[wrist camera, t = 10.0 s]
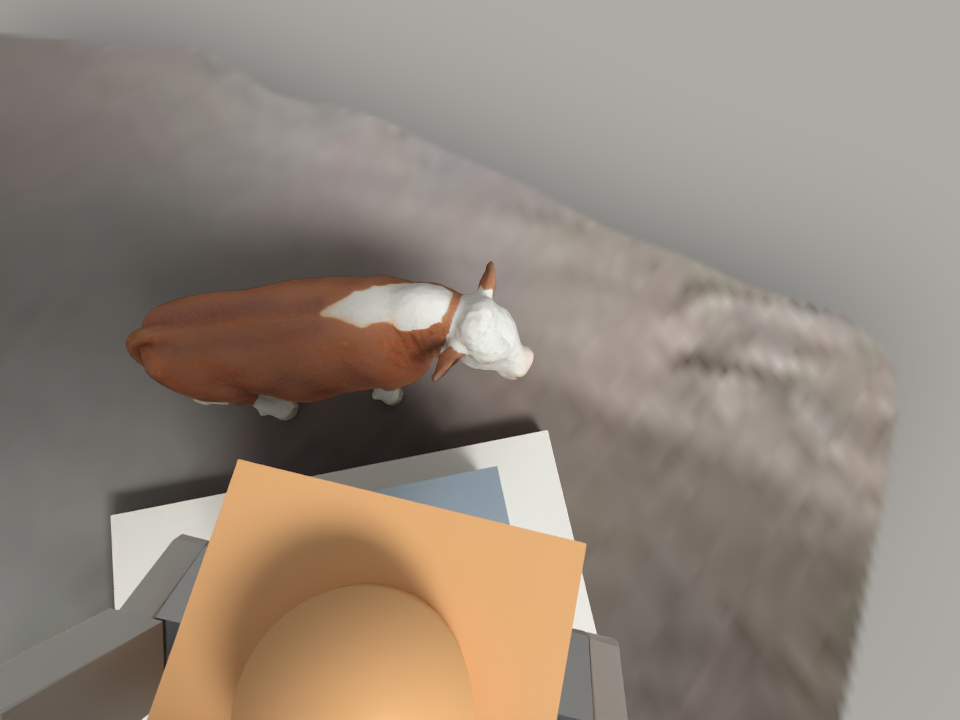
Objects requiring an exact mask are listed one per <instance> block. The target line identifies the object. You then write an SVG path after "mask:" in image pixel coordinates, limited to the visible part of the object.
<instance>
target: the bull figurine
mask: <svg viewBox="0 0 960 720" xmlns="http://www.w3.org/2000/svg"><path fill="white" fill-rule="evenodd" d="M495 288H496V276H495V268H494V264H493V262H492V261H491V262H489V263H488V264H487V266H486V270H485V273H484V274H483V276H482V278H481V280H480V283H479V287H478V290H477V291H476V292H475V293H473V294H469V295H463V294H460V293H458V292H456V291H454V290H453V289H450V288H448V287H445V286H443V285H441V284H437V283H431V282H413V281H408V280H403V279H398V278H395V277H391V276H366V277H357V278H354V277H321V278H309V279H297V280H288V281H282V282H278V283H273V284H269V285H264V286H260V287H255V288H251V289H246V290H240V291H223V292H212V293H205V294H198V295H192V296H188V297H183V298H179V299H176V300H173V301H170V302H167V303H164V304H162V305H159V306H157V307H155V308H154V309H152V310H151V311H150V312H149V313H148V315H147V316H146V318H145V319H144V321H143V323H142V328H140V329H138V330H136V331H134V332H133V333H131V334H130V335H129V337H128V338H127V340H126V347H127V350H128V352H129V353H130V355H131V357H133V358H134V359H135V360H136V361H137V362H138V363H139V364H141V365H142V366H143V367H144V368H145V370H146V373H147V374H148V375H149V376H150V377H151V378H152V379H154V380H155V381H157V382H158V383H160V384H161V385H163V386H165V387H167V388H169V389H171V390H173V391H175V392H177V393H180V394H183V395H185V396H188V397H189V398H191V399H192V400H194V401H196V402H198V403H200V404H203V405H210V404H219V405H228V404H230V403H235V404H237V405H239V406H253V407H255V408H256V409H257V410H258V411H259V414H260V415H262V416H266V415H272V416H274V417H276V418H278V419H280V420H283V421H286V420H290V419H292V418H294V417H295V416H296V414H297V413H298V408H299V404H298V403H297V402H315V401H320V400H325V399H329V398H333V397H336V396H338V395H340V394H342V393H346V392H356V391H363V390H369V389H374V391H373V393H372V397H373V399H380V400H382V401H383V402H384V403H386V404H387V405H396V404H398V403H399V402H400V401H401V400H402V397H403V391H402V389H401V387H403V386H405V385H408V384H410V383H413V382H415V381H417V380H418V379H420V378H421V377H422V376H423V375H424V374H425V373H426V371H427V370H428V369H429V367H430V364H431V362H432V360H433V359H435V358H437V357H439V359H438V363H437V366H436V370H435V372H434V374H433V376H432V380H433V381H434V382H436V381H438V380H439V379H440V378H441V377H443V376H444V375H445V374H446V373H447V371H448V370H449V369H450V368H451V367H452V366H453V365H455V364H456V363H457V362H458V361H459V360H461V362H462V363H464V364H466V365H467V366H470V367H472V368H475V369H483V370H495V371H497V373H498V374H499V375H501V376H502V377H504V378H507V379H517V378H519V377H522V376H524V375H525V374H526V373H527V371H528V370H529V368H530V366H531V364H532V361H533V358H534V355H533V352H532V351H531V349H530V348H528V347H527V346H524V345H522V344H521V342H520V339H519V335H518V332H517V328H516V324H515V322H514V320H513V318H512V317H511V315H510V314H509V312H508V310H507V309H506V308H504V307H502V306H500V305H498V304H496V303H495V302H494V301H493V300H492V298H493V295H494V291H495ZM262 394H263V395H262ZM265 395H268V396H265Z"/></svg>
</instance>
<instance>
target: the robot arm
mask: <svg viewBox="0 0 960 720" xmlns="http://www.w3.org/2000/svg"><path fill="white" fill-rule="evenodd" d="M208 544H209V541H208V540H204V539H201V538H197V537H193V536H189V535H185V534H181V535H180V536H178V537H177V538H175V539H174V540H173V541H172V542H171V543H170V545H169V546H168V547H167V548H166V550H165V551H164V552H163V554H162V555H161V556H160V558H159V559H158V560H157V561H156V563H155V564H154V565H153V567H152V568H151V569H150V570H149V572H148V573H147V574H146V576H145V577H144V578H143V580H142V581H141V582H140V583H139V585H138V586H137V587H136V589H135V590H134V591H133V592H132V594H131V595H130V596H129V598H128V599H127V600H126V602H125V603H124V604H123V605H122V607H121V608H120V609H119V610H116V609H111V608H109V609H107V610H105V611H103V612H101V613H99V614H97V615H95V616H93V617H91V618H89V619H87V620H85V621H83V622H81V623H79V624H77V625H75V626H73V627H71V628H69V629H68V630H66V631H64V632H62V633H60V634H58V635H56V636H54V637H52V638H50V639H48V640H46V641H44V642H42V643H40V644H38V645H36V646H34V647H32V648H30V649H28V650H26V651H24V652H22V653H20V654H18V655H16V656H14V657H12V658H10V659H8V660H6V661H4V662H2V663H0V720H142V719H143V718H144V717H146V716H147V715H148V714H149V712H150V709H151V707H152V704H153V701H154V698H155V695H156V692H157V689H158V687H159V684H160V681H161V678H162V675H163V672H164V670H165V667H166V664H167V661H168V658H169V655H170V652H171V650H172V647H173V644H174V641H175V638H176V635H177V632H178V630H179V627H180V624H181V621H182V618H183V615H184V612H185V610H186V607H187V604H188V601H189V598H190V595H191V592H192V590H193V587H194V584H195V581H196V578H197V575H198V572H199V570H200V567H201V564H202V561H203V558H204V555H205V552H206V550H207V547H208ZM557 720H627V711H626V703H625V694H624V685H623V677H622V668H621V660H620V651H619V644H618V642H617V641H616V639H614V638H610V637H606V636H602V635H597V634H593V633H589V632H585V631H582V630H578V629H574V628H572V633H571V639H570V644H569V650H568V656H567V662H566V668H565V674H564V680H563V686H562V691H561V697H560V703H559V709H558V715H557Z"/></svg>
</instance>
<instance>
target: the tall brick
mask: <svg viewBox="0 0 960 720" xmlns="http://www.w3.org/2000/svg"><path fill="white" fill-rule="evenodd" d="M585 550H586V543H582V542H578V541H574V540H570V539H566V538H562V537H557V536H553V535H549V534H545V533H541V532H537V531H533V530H529V529H524V528H520V527H516V526H512V525H508V524H504V523H500V522H496V521H491V520H487V519H483V518H479V517H475V516H471V515H467V514H463V513H458V512H454V511H450V510H446V509H442V508H438V507H434V506H430V505H425V504H421V503H417V502H413V501H409V500H405V499H401V498H397V497H392V496H388V495H384V494H380V493H376V492H372V491H368V490H364V489H359V488H355V487H351V486H347V485H343V484H339V483H335V482H331V481H326V480H322V479H318V478H314V477H310V476H306V475H302V474H298V473H293V472H289V471H285V470H281V469H277V468H273V467H269V466H265V465H260V464H256V463H252V462H248V461H244V460H240V459H238V461H237V464H236V467H235V470H234V473H233V475H232V478H231V481H230V484H229V487H228V490H227V493H226V495H225V498H224V501H223V504H222V507H221V510H220V513H219V515H218V518H217V521H216V524H215V527H214V530H213V532H212V535H211V538H210V541H209V544H208V547H207V550H206V552H205V555H204V558H203V561H202V564H201V567H200V570H199V572H198V575H197V578H196V581H195V584H194V587H193V590H192V592H191V595H190V598H189V601H188V604H187V607H186V610H185V612H184V615H183V618H182V621H181V624H180V627H179V630H178V632H177V635H176V638H175V641H174V644H173V647H172V650H171V652H170V655H169V658H168V661H167V664H166V667H165V670H164V672H163V675H162V678H161V681H160V684H159V687H158V689H157V692H156V695H155V698H154V701H153V704H152V707H151V709H150V712H149V715H148V718H147V720H557V715H558V709H559V703H560V697H561V691H562V686H563V680H564V674H565V668H566V662H567V656H568V650H569V644H570V639H571V633H572V627H573V621H574V615H575V609H576V603H577V597H578V591H579V586H580V580H581V574H582V568H583V562H584V556H585Z"/></svg>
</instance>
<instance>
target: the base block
mask: <svg viewBox="0 0 960 720" xmlns="http://www.w3.org/2000/svg"><path fill="white" fill-rule="evenodd" d="M372 492H376V493H380V494H384V495H388V496H392V497H397V498H401V499H405V500H409V501H413V502H417V503H421V504H425V505H430V506H434V507H438V508H442V509H446V510H450V511H454V512H458V513H463V514H467V515H471V516H475V517H479V518H483V519H487V520H491V521H496V522H500V523H504V524H508V525H510V523H509V518H508V514H507V509H506V504H505V500H504V495H503V490H502V486H501V481H500V476H499V472H498V467H497V466H494V467H489V468H484V469H479V470H474V471H469V472H464V473H459V474H455V475H450V476H445V477H440V478H435V479H430V480H425V481H420V482H415V483H410V484H405V485H400V486H395V487H390V488H385V489H380V490H375V491H372Z"/></svg>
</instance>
